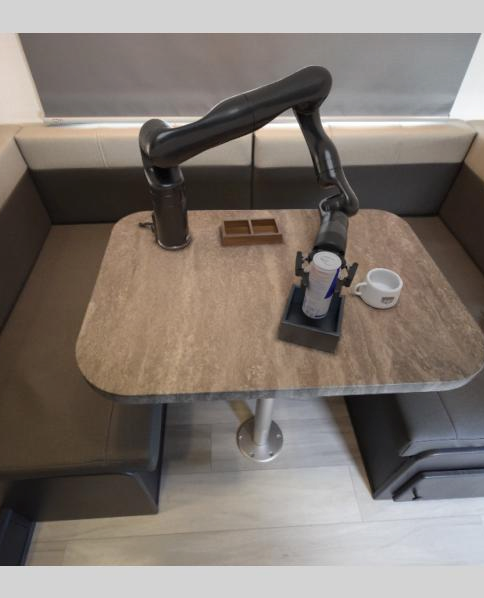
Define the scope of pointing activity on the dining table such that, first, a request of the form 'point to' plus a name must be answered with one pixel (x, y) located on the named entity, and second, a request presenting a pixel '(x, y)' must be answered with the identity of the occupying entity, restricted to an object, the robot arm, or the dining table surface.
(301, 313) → the dark gray square box
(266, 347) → the dining table surface
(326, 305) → the beverage can
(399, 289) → the mug
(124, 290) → the dining table surface
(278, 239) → the wooden divided tray
